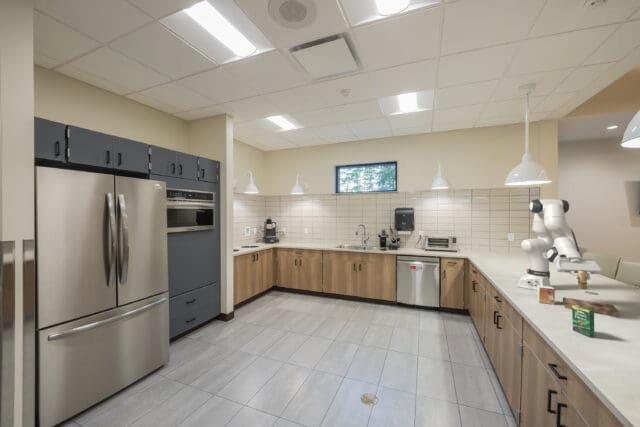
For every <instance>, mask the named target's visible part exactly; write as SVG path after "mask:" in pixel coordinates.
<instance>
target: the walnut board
mask: <svg viewBox="0 0 640 427" xmlns="http://www.w3.org/2000/svg"><path fill="white" fill-rule="evenodd" d="M562 304H563V306H564V308H565V309H568V310H569V309H570V310H572V305H578V306H581V307H584V308H588V309H591V310H594V314H599V315H604V316H610V317H615V318H619V317H620V310H618V309H617V308H616V307H615V305H614V304H612V303H611V304H609V303H602V302H596V301H590V300H583V299H576V298H571V297H570V298H569V297H564V296H563V297H562Z"/></svg>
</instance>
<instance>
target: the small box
mask: <svg viewBox="0 0 640 427" xmlns="http://www.w3.org/2000/svg"><path fill="white" fill-rule="evenodd" d="M555 291H556V289H555V288H554V287H552V286H551V287H548V286H539V285H537V290H536V301H537V303H538V304H545V305H552V306H555V305H556V304H555V303H556V302H555V301H556V299H555V296H556V294H555V293H556V292H555Z"/></svg>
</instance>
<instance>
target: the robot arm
mask: <svg viewBox="0 0 640 427" xmlns="http://www.w3.org/2000/svg"><path fill="white" fill-rule="evenodd" d="M528 207H529V210H530V212H531V213H532V214H534V215H533V220H532V228H531V229H532V232H534V234H536V235H537V238H528V239H527V238H526V239H523V240H522V241H521V243H520V246H521V249H522V250H523V251H524V252H526V254H527V255H528V258H529V265H530V266H529V267H530V268H526V273H524V274H523V275H520V276H519V277H518V280H517V281H516V282H514V286H515V287H518V288H523V289H527V290H528V289H529V290H534V291H537V285H539V286H548V287H552V286H551V281H550V278H551V272H550V263H553V264H554V269H555V271H556V272H558V273H564V274H565V273H567V274H570V275H571V276H573V277H574V278H575V280H578V279H579V278H580V277H579V275H578V271H586V272H587V281H589V280H591V279H592V278H591V276H590V275H599V274H600V273H601V272H602V270H603V269H602V268H601V267H600V265H599V264H598V263H597V262H596V261H595V260H593V259H586V258H583V256H582V253H581V251H580V249H579V246H578V242H577V239H576V236H575V232H574V231H573V229H572V228H570V226H569V224H568V223H567V219H566V214H567V212H568V211H569V209H570V202H568V201H567V200H565V199H556V198H555V199H554V198H546V199H545V198H544V199H543V198H541V199H537V198H536V199H532V200H531V201H530V203H529V206H528ZM553 233H554V234H555V235H558V236H559V237H557V238H554V237H553ZM543 253H545V257H546V258H545V257H544V255H543Z"/></svg>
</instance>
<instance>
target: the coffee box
mask: <svg viewBox="0 0 640 427" xmlns="http://www.w3.org/2000/svg"><path fill="white" fill-rule="evenodd" d="M571 311H572V312H571V314H572V320H571V321H572V331H574V332H576V333H579V334H581V335H584V336H586V337H588V338H595V313H594V310H591V309H588V308H584V307H581V306H578V305H572V309H571Z"/></svg>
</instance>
